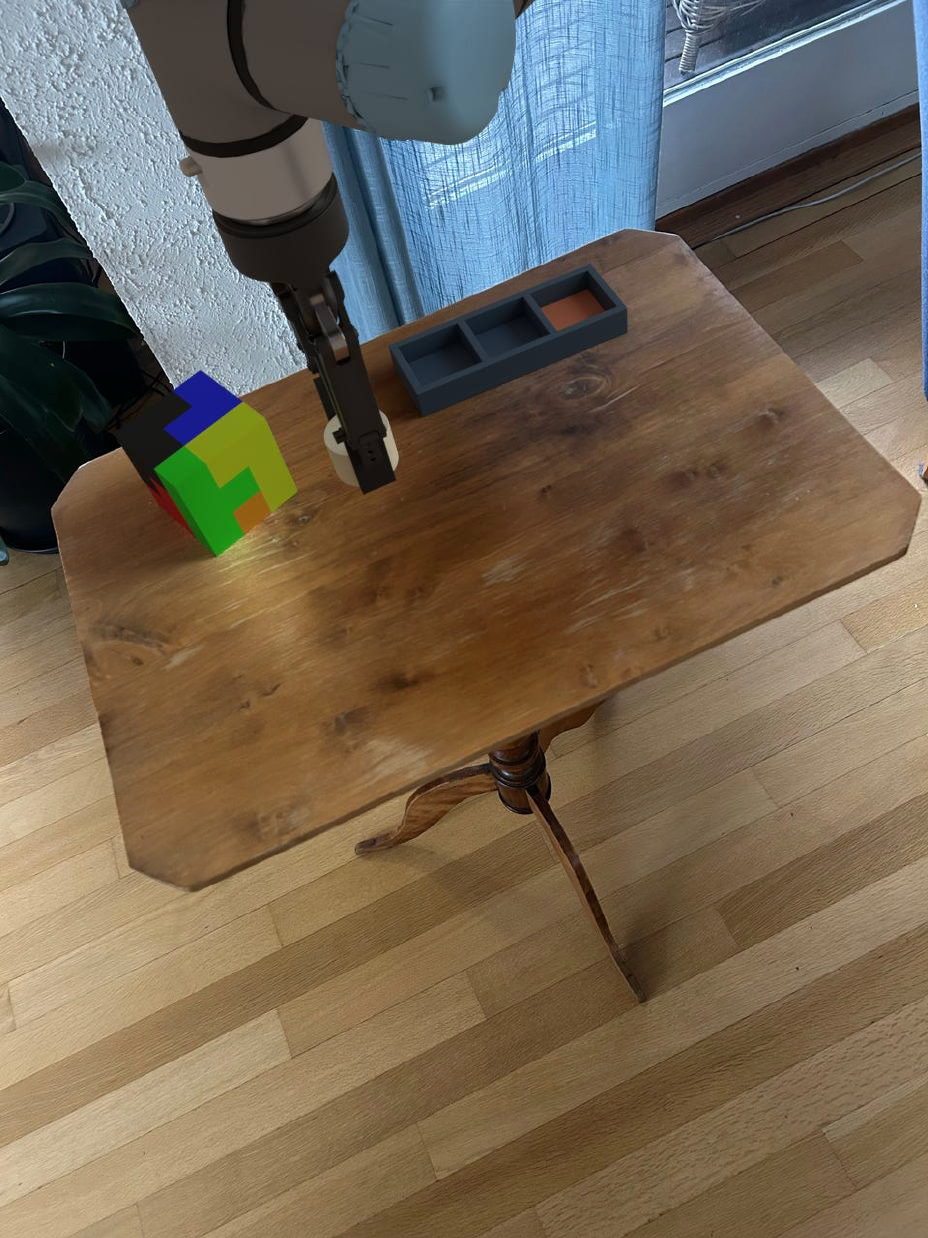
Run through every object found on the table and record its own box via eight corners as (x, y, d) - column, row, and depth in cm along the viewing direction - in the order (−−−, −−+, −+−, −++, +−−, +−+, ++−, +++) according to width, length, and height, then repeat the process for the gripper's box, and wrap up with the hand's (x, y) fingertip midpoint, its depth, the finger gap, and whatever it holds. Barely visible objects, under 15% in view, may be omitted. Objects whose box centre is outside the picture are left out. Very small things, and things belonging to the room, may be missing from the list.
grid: (627, 332, 100) (627, 307, 98) (422, 417, 98) (416, 394, 95) (591, 287, 105) (590, 262, 102) (394, 367, 102) (388, 344, 100)
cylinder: (408, 470, 75) (398, 438, 72) (348, 496, 75) (336, 465, 72) (385, 428, 78) (375, 396, 75) (326, 454, 77) (314, 422, 75)
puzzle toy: (237, 443, 100) (200, 369, 92) (298, 491, 95) (265, 417, 87) (158, 504, 97) (113, 433, 89) (216, 556, 92) (175, 487, 84)
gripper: (173, 138, 61) (285, 406, 81) (254, 300, 52) (360, 562, 71) (284, 94, 62) (369, 371, 81) (386, 246, 52) (455, 519, 72)
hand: (365, 459), depth 76 cm, fingers closed on cylinder, 5 cm apart
